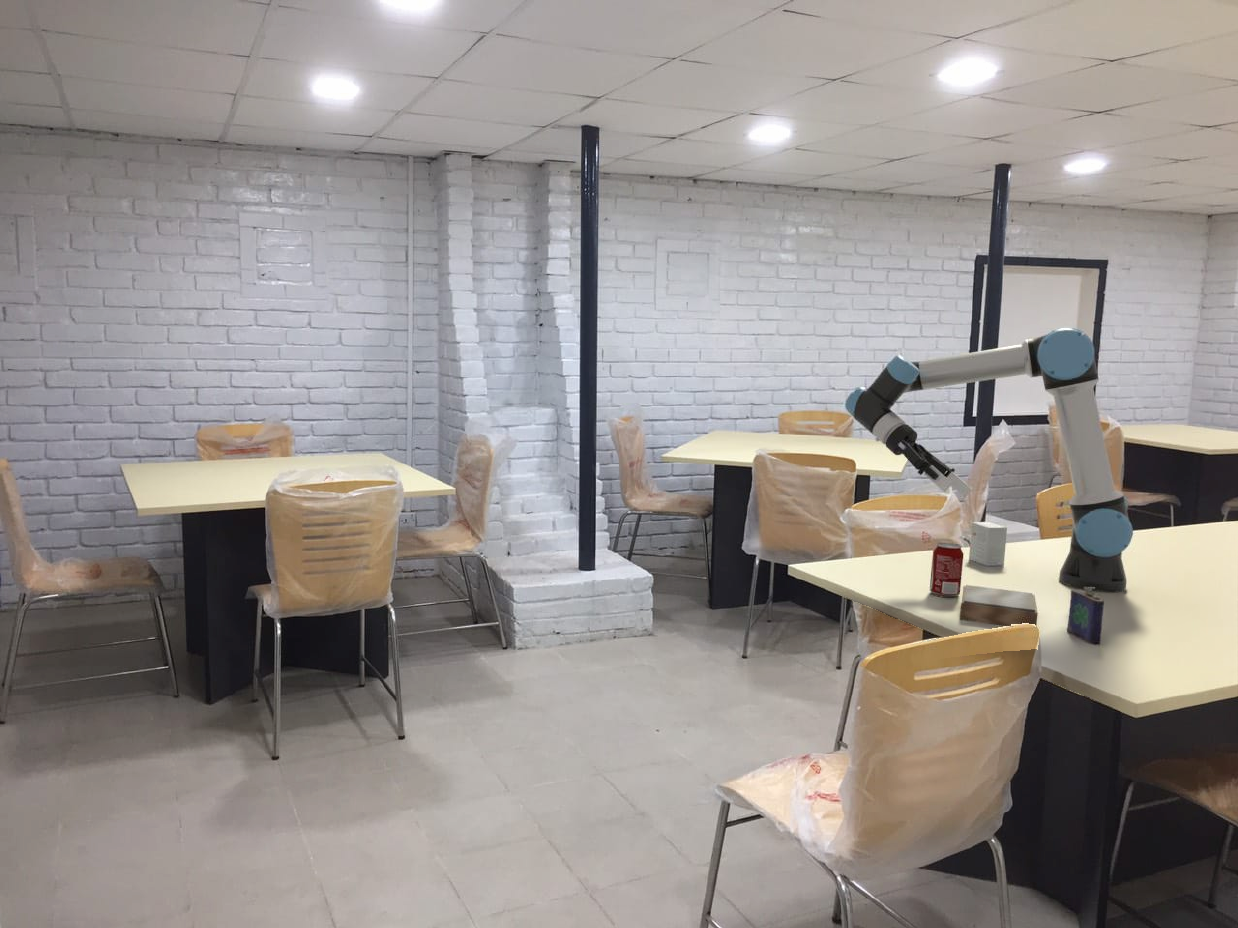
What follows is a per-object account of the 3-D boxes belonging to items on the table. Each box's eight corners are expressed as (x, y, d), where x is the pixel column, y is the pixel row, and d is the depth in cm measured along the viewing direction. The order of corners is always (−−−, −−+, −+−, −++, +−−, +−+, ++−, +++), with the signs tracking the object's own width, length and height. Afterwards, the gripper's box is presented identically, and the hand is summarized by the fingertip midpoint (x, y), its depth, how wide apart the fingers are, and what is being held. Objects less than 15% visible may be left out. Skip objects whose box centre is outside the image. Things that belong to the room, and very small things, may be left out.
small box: (1004, 565, 260) (1007, 527, 258) (985, 566, 258) (989, 527, 257) (985, 558, 267) (989, 521, 266) (968, 559, 266) (971, 521, 264)
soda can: (961, 599, 223) (966, 548, 221) (930, 596, 224) (935, 546, 223) (957, 592, 230) (962, 542, 228) (927, 589, 231) (932, 540, 229)
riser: (1032, 610, 217) (1034, 592, 216) (1035, 629, 202) (1037, 610, 201) (961, 601, 222) (963, 584, 221) (959, 619, 207) (961, 601, 206)
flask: (1064, 630, 202) (1069, 580, 201) (1077, 630, 202) (1082, 580, 201) (1091, 645, 193) (1097, 592, 192) (1104, 645, 193) (1111, 593, 192)
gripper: (905, 452, 252) (965, 506, 241) (864, 439, 233) (928, 497, 222) (924, 430, 250) (986, 483, 238) (885, 415, 231) (950, 472, 219)
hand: (958, 490), depth 230 cm, fingers open, 13 cm apart
